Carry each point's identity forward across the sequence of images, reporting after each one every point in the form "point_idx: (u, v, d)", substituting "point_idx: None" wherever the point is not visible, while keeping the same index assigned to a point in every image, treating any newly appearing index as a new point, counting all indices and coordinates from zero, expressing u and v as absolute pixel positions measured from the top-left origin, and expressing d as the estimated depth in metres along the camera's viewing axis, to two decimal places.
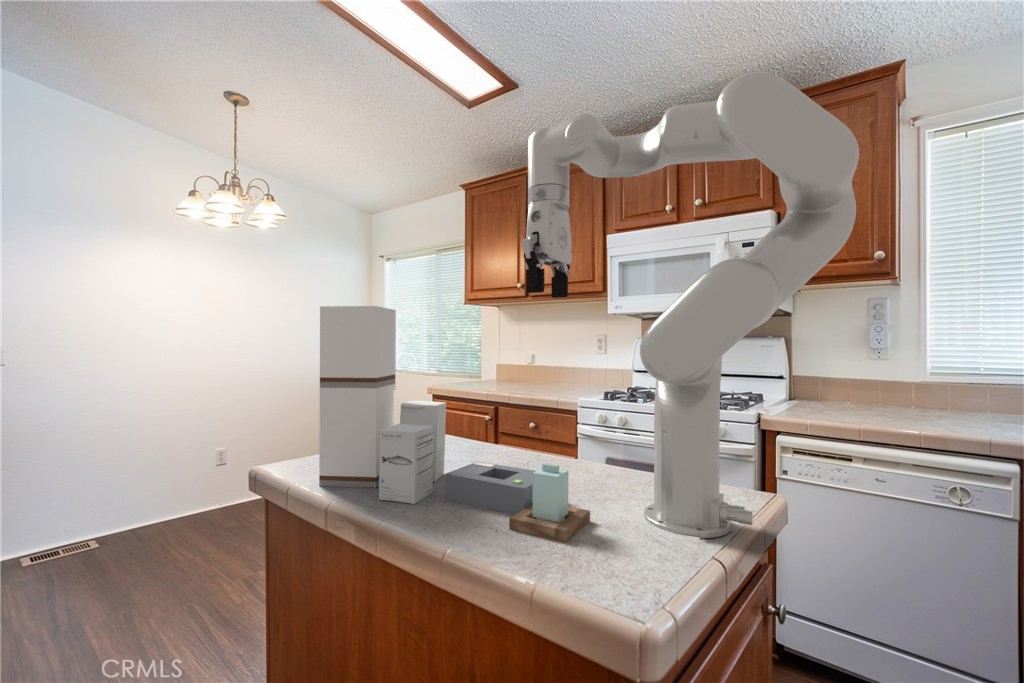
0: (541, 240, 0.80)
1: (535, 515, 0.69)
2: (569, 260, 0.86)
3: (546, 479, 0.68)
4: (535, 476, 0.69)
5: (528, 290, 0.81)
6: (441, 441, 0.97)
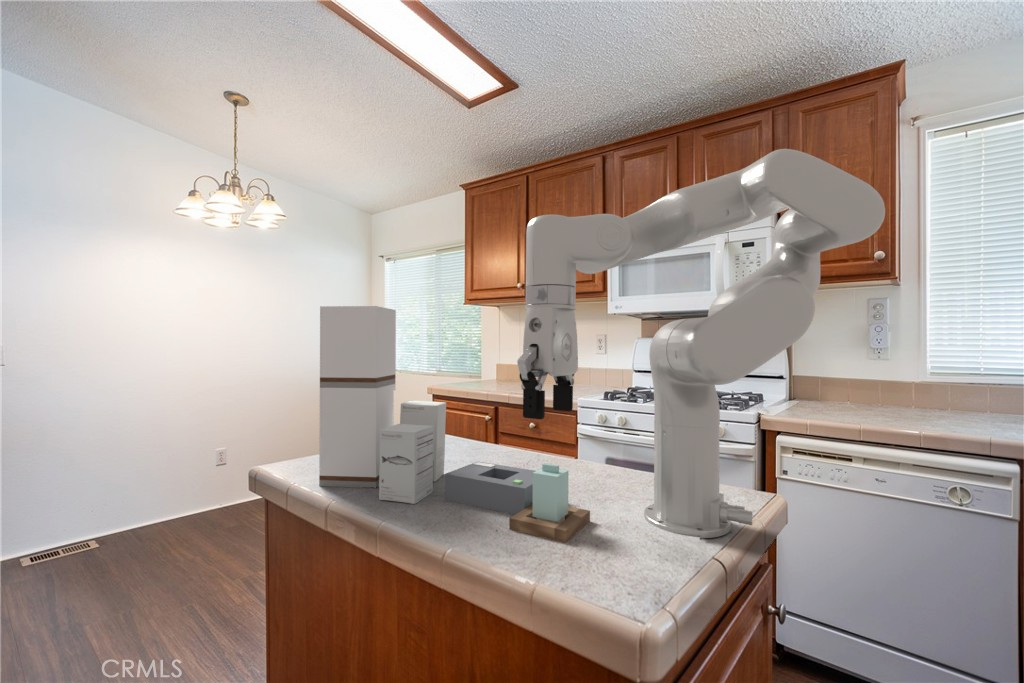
0: (541, 355, 0.65)
1: (535, 515, 0.69)
2: (575, 369, 0.72)
3: (546, 479, 0.68)
4: (535, 476, 0.69)
5: (525, 414, 0.66)
6: (441, 441, 0.97)
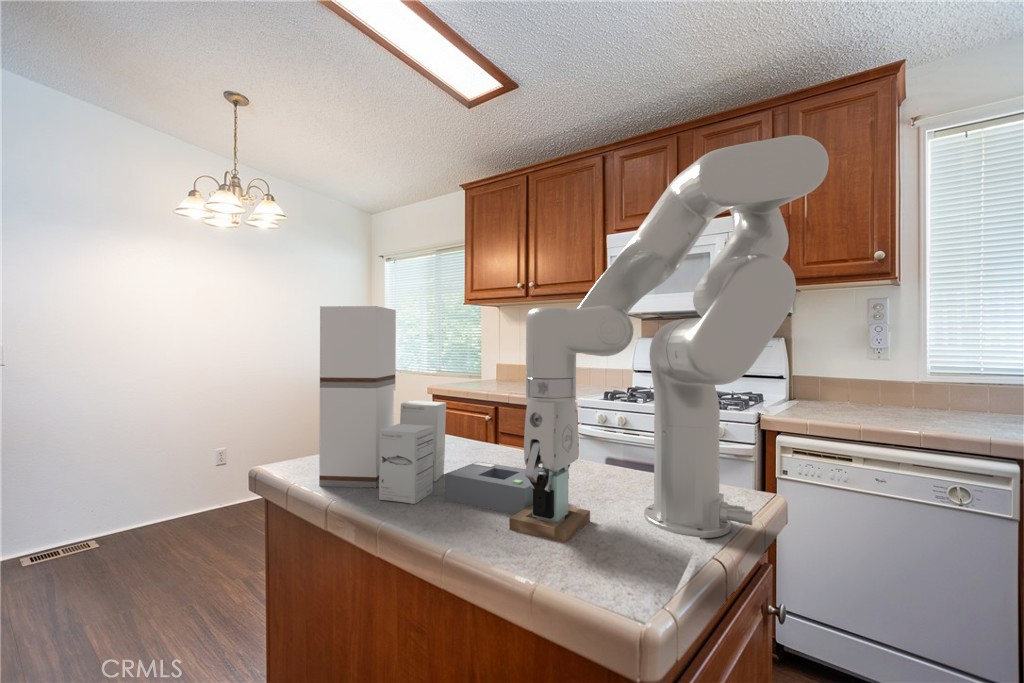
0: (542, 451, 0.65)
1: None
2: (576, 456, 0.72)
3: None
4: None
5: (534, 512, 0.69)
6: (441, 441, 0.97)
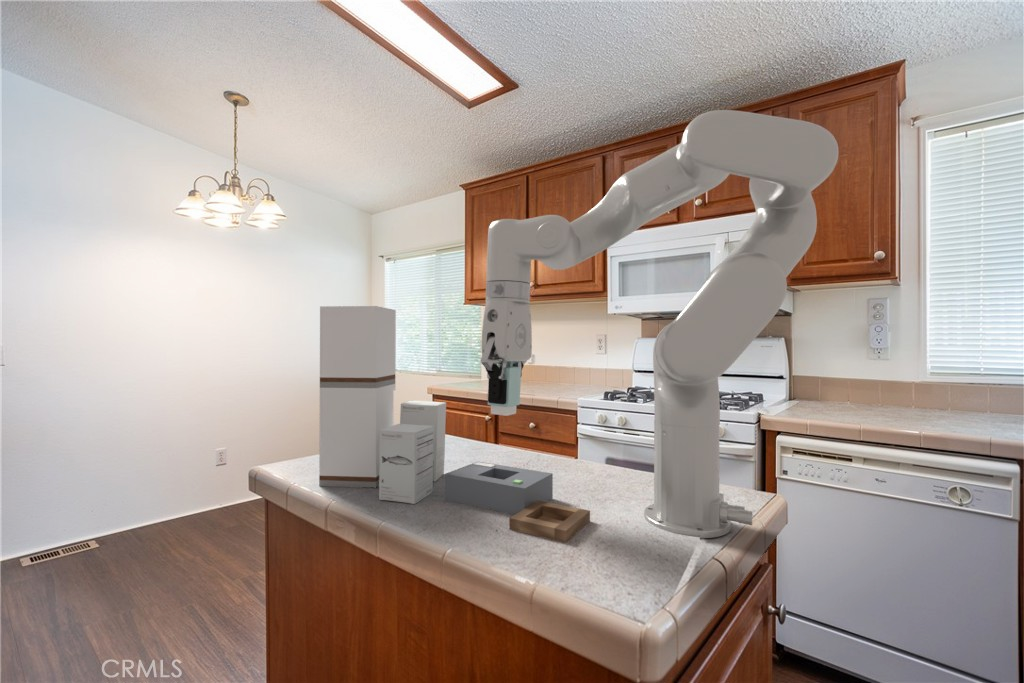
0: (497, 342, 0.75)
1: (490, 403, 0.79)
2: (529, 356, 0.81)
3: None
4: None
5: (489, 400, 0.78)
6: (441, 441, 0.97)
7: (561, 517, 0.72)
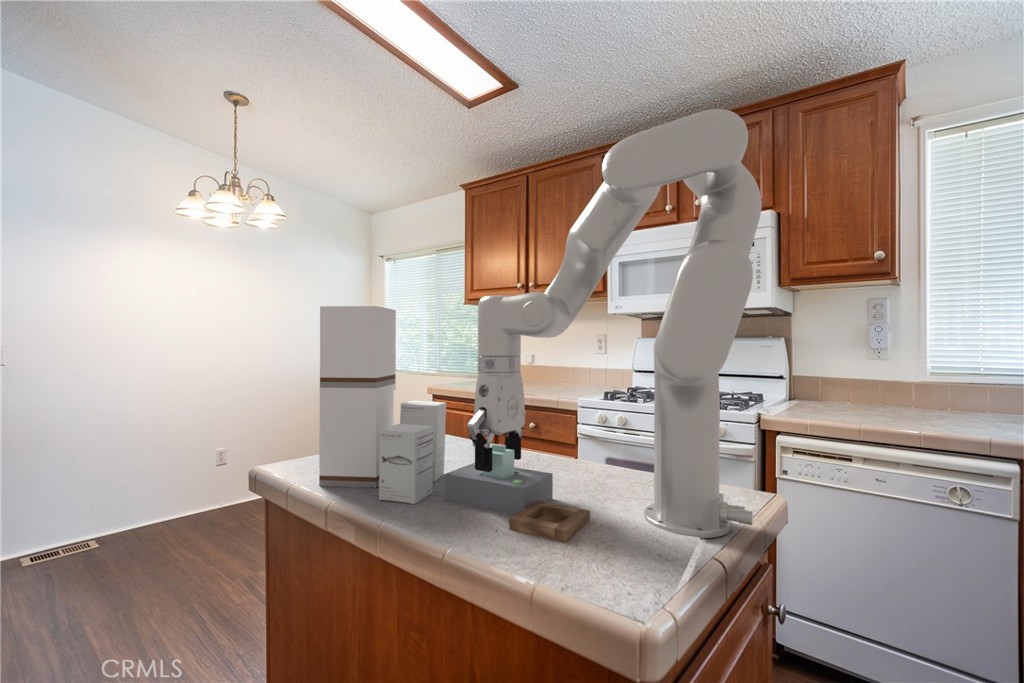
0: (489, 417, 0.77)
1: None
2: (522, 424, 0.84)
3: (494, 457, 0.80)
4: None
5: (476, 467, 0.78)
6: (441, 441, 0.97)
7: (561, 517, 0.72)
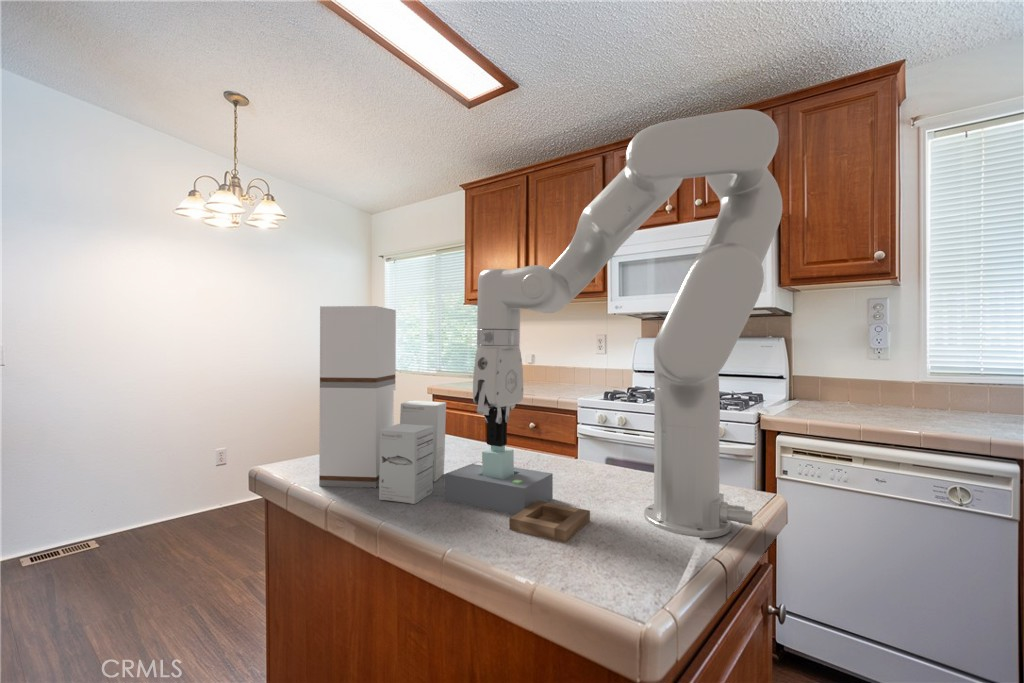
0: (487, 389, 0.77)
1: None
2: (520, 399, 0.84)
3: (493, 457, 0.80)
4: (484, 455, 0.81)
5: (488, 442, 0.82)
6: (441, 441, 0.97)
7: (561, 517, 0.72)
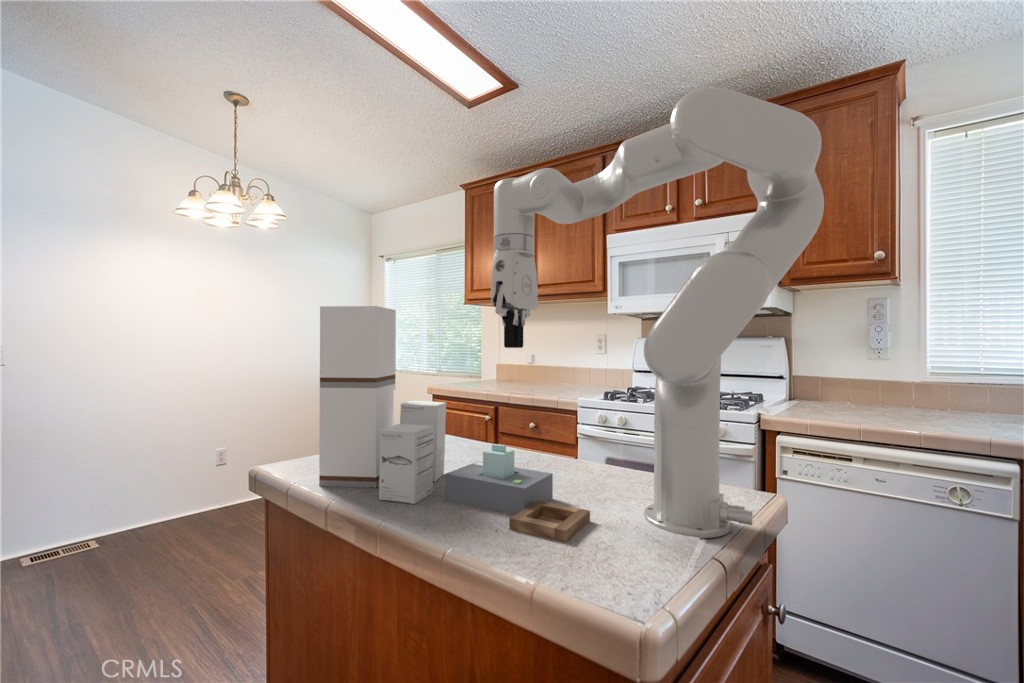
0: (505, 289, 0.81)
1: None
2: (535, 305, 0.88)
3: (494, 457, 0.80)
4: (485, 455, 0.81)
5: (505, 345, 0.86)
6: (441, 441, 0.97)
7: (561, 517, 0.72)
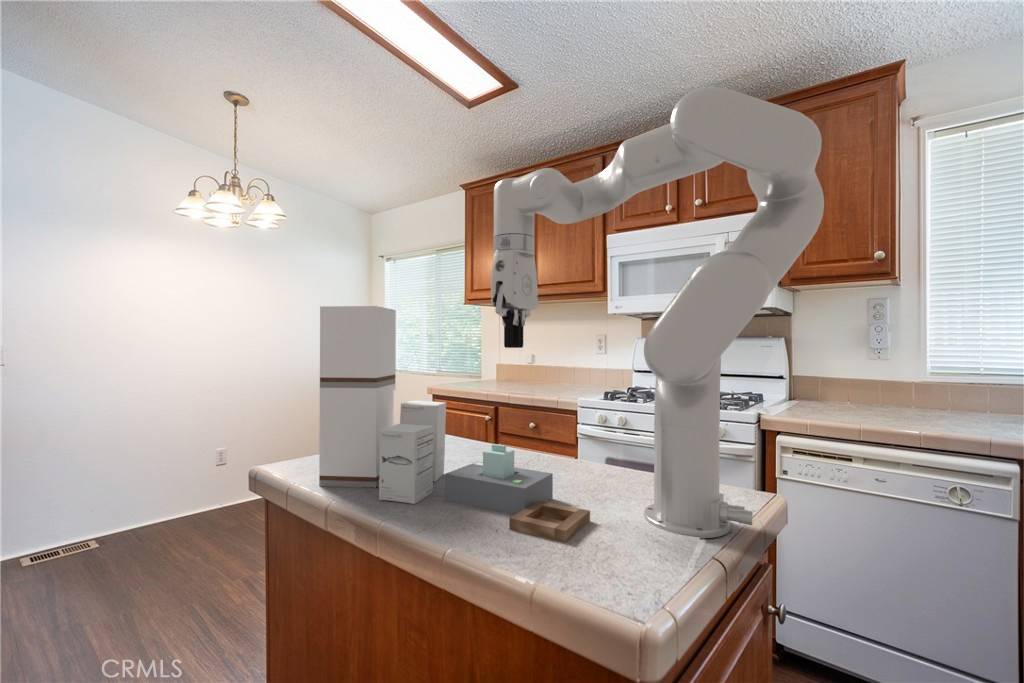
0: (505, 289, 0.81)
1: None
2: (535, 305, 0.88)
3: (494, 457, 0.80)
4: (485, 455, 0.81)
5: (505, 345, 0.86)
6: (441, 441, 0.97)
7: (561, 517, 0.72)
